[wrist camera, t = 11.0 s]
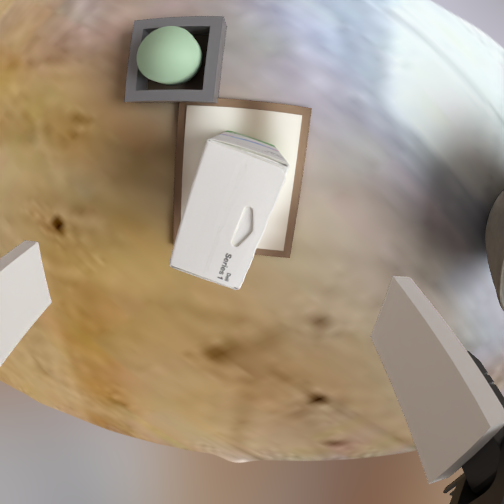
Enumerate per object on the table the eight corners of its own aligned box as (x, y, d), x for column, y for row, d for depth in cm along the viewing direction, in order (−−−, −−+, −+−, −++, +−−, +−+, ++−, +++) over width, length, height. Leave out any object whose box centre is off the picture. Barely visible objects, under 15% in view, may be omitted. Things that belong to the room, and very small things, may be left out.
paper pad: (174, 244, 31) (173, 247, 31) (181, 97, 25) (179, 96, 24) (289, 255, 32) (289, 258, 31) (310, 108, 25) (311, 108, 25)
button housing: (136, 103, 25) (124, 102, 22) (145, 28, 22) (134, 20, 19) (217, 103, 25) (213, 101, 23) (226, 26, 22) (223, 16, 19)
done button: (145, 86, 23) (133, 83, 20) (152, 36, 21) (140, 28, 18) (199, 85, 23) (193, 81, 20) (206, 34, 21) (200, 25, 18)
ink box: (226, 128, 26) (205, 133, 15) (277, 146, 26) (294, 164, 16) (197, 212, 29) (164, 270, 18) (246, 228, 30) (240, 295, 19)
